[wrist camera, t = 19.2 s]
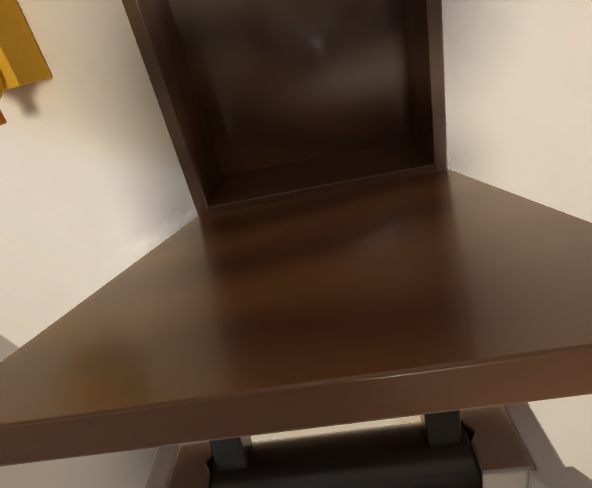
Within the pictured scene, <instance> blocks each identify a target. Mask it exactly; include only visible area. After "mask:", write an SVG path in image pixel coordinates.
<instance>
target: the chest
mask: <svg viewBox="0 0 592 488" xmlns="http://www.w3.org/2000/svg"><path fill="white" fill-rule="evenodd" d="M122 2H123V5H124V8H125V10H126V13H127V16H128V19H129V22H130V24H131V27H132V30H133V33H134V36H135V38H136V41H137V44H138V47H139V50H140V53H141V55H142V58H143V61H144V64H145V67H146V69H147V72H148V75H149V78H150V81H151V83H152V86H153V89H154V92H155V95H156V98H157V100H158V103H159V106H160V109H161V112H162V114H163V117H164V120H165V123H166V126H167V128H168V131H169V134H170V137H171V140H172V143H173V145H174V148H175V151H176V154H177V157H178V159H179V162H180V165H181V168H182V171H183V173H184V176H185V179H186V182H187V185H188V188H189V190H190V193H191V196H192V199H193V202H194V204H195V207H196V210H197V213H198V216H204V215H210V214H215V213H220V212H226V211H231V210H236V209H242V208H247V207H252V206H258V205H263V204H268V203H274V202H279V201H284V200H290V199H295V198H300V197H306V196H311V195H316V194H322V193H327V192H332V191H338V190H343V189H348V188H354V187H359V186H364V185H370V184H375V183H380V182H386V181H391V180H397V179H402V178H407V177H413V176H418V175H423V174H429V173H434V172H439V171H445V170H447V142H446V113H445V84H444V56H443V27H442V0H122Z"/></svg>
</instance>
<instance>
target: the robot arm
mask: <svg viewBox="0 0 592 488" xmlns="http://www.w3.org/2000/svg"><path fill="white" fill-rule="evenodd" d="M460 418H461V423H462V424H463V426H464V427H465V429H466V431H467V433H468V436H469V438H470V441H471V447H472V450H473V453H474V456H475V460H476V464H477V468H478V472H479V476H480V481H481V486H482V488H592V480H591V479H590V478H589V477H587V476H586V475H584V474H583V473H582V472H580V471H579V470H577V469H576V468H574V467H565V465H564V464H563V462H562V460H561V459H560V457H559V455H558V453H557V452H556V450H555V448H554V447H553V445H552V443H551V441H550V440H549V438H548V436H547V435H546V433H545V431H544V429H543V428H542V426H541V424H540V423H539V421H538V419H537V417H536V416H535V414H534V412H533V411H532V409H531V407H530V405H529V404H528V403H527V402H522V403H513V404H505V405H497V406H489V407H481V408H473V409H464V410H460ZM213 461H214V457H213V454H212V451H211V447H210V444H209V441H203V442H195V443H187V444H179V445H171V446H162V447H160V448H159V449H158V452H157V454H156V457H155V460H154V463H153V466H152V469H151V472H150V475H149V478H148V480H147V483H146V486H145V488H210V487H211V471H212V466H213Z"/></svg>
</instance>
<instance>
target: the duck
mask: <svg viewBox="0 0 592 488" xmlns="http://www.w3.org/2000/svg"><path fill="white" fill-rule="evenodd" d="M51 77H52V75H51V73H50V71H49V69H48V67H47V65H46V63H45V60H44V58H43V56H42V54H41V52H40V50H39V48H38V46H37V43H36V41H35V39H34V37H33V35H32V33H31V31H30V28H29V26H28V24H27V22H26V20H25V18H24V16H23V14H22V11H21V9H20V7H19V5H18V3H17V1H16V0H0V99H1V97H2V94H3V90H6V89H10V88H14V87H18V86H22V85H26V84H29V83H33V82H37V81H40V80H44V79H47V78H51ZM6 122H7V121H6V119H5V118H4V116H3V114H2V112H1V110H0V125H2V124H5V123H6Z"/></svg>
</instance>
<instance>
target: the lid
mask: <svg viewBox="0 0 592 488" xmlns="http://www.w3.org/2000/svg"><path fill="white" fill-rule="evenodd" d="M587 394H592V223H590V222H588V221H585V220H582V219H580V218H577V217H574V216H572V215H569V214H566V213H564V212H561V211H558V210H556V209H553V208H550V207H548V206H545V205H542V204H540V203H537V202H534V201H532V200H529V199H526V198H523V197H521V196H518V195H515V194H513V193H510V192H507V191H505V190H502V189H499V188H497V187H494V186H491V185H489V184H486V183H483V182H481V181H478V180H475V179H473V178H470V177H467V176H465V175H462V174H459V173H457V172H454V171H451V170H445V171H439V172H434V173H429V174H423V175H418V176H413V177H407V178H402V179H397V180H391V181H386V182H380V183H375V184H370V185H364V186H359V187H354V188H348V189H343V190H338V191H332V192H327V193H322V194H316V195H311V196H306V197H300V198H295V199H290V200H284V201H279V202H274V203H268V204H263V205H258V206H252V207H247V208H242V209H236V210H231V211H226V212H220V213H215V214H210V215H204V216H199V217H196V218H195V219H193V220H192V221H191V222H189V223H188V224H187V225H185V226H184V227H183V228H181V229H180V230H178V231H177V232H176V233H174V234H173V235H172V236H170V237H169V238H168V239H166V240H165V241H164V242H162V243H161V244H160V245H158V246H157V247H156V248H154V249H153V250H151V251H150V252H149V253H147V254H146V255H145V256H143V257H142V258H141V259H139V260H138V261H137V262H135V263H134V264H133V265H131V266H130V267H129V268H127V269H126V270H125V271H123V272H122V273H120V274H119V275H118V276H116V277H115V278H114V279H112V280H111V281H110V282H108V283H107V284H106V285H104V286H103V287H102V288H100V289H99V290H98V291H96V292H95V293H94V294H92V295H91V296H89V297H88V298H87V299H85V300H84V301H83V302H81V303H80V304H79V305H77V306H76V307H75V308H73V309H72V310H71V311H69V312H68V313H67V314H65V315H64V316H62V317H61V318H60V319H58V320H57V321H56V322H54V323H53V324H52V325H50V326H49V327H48V328H46V329H45V330H44V331H42V332H41V333H40V334H38V335H37V336H36V337H34V338H33V339H31V340H30V341H29V342H27V343H26V344H25V345H23V346H22V347H21V348H19V349H18V350H17V351H15V352H14V353H13V354H11V355H10V356H9V357H7V358H6V359H5V360H4V361H2V362H0V466H7V465H15V464H24V463H32V462H40V461H48V460H56V459H65V458H72V457H81V456H89V455H96V454H104V453H113V452H122V451H130V450H137V449H146V448H154V447H162V446H171V445H179V444H187V443H195V442H203V441H209V444H210V447H211V451H212V454H213V457H214V461H213V466H212V471H211V487H210V488H482V486H481V481H480V476H479V472H478V468H477V464H476V460H475V456H474V453H473V450H472V447H471V441H470V438H469V436H468V433H467V431H466V429H465V427H464V426H463V424H462V423H461V418H460V410H464V409H473V408H481V407H489V406H497V405H505V404H513V403H522V402H530V401H538V400H546V399H554V398H562V397H570V396H579V395H587ZM415 415H421V422H416V423H408V424H400V425H392V426H383V427H375V428H367V429H358V430H350V431H342V432H334V433H325V434H317V435H309V436H300V437H292V438H284V439H275V440H267V441H259V442H252V441H251V437H250V436H252V435H260V434H269V433H277V432H285V431H293V430H301V429H309V428H318V427H326V426H334V425H342V424H350V423H358V422H366V421H375V420H383V419H391V418H399V417H407V416H415Z"/></svg>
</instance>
